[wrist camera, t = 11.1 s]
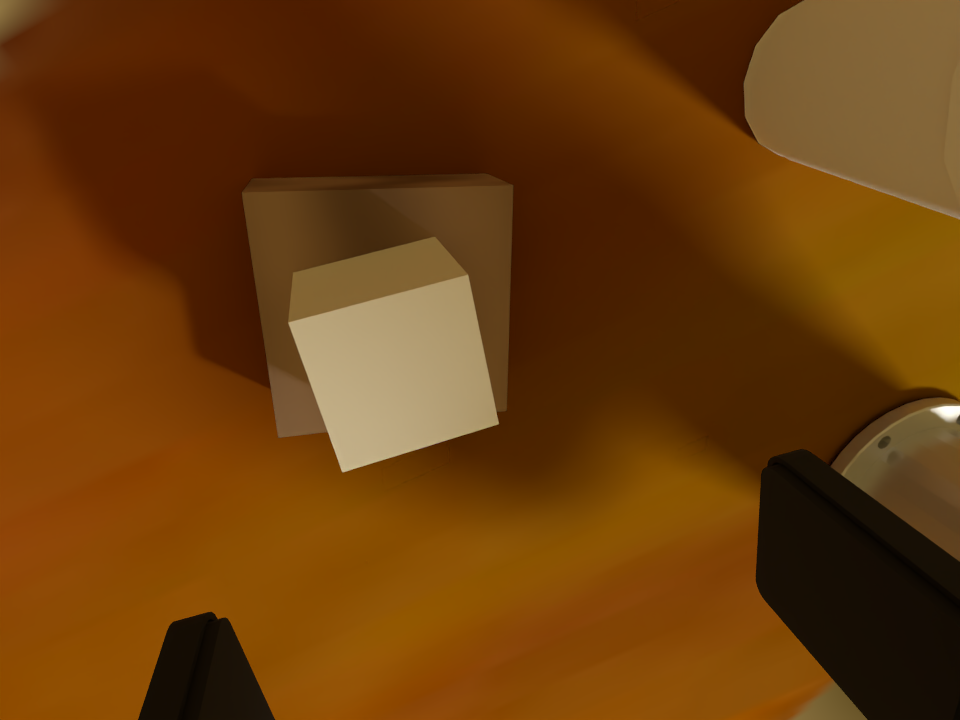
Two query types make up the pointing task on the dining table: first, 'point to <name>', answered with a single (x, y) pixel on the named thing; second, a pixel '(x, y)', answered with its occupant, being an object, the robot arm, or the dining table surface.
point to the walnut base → (365, 229)
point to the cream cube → (392, 351)
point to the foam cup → (864, 94)
